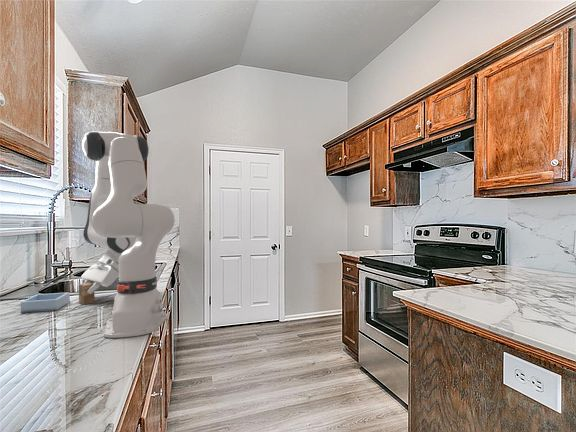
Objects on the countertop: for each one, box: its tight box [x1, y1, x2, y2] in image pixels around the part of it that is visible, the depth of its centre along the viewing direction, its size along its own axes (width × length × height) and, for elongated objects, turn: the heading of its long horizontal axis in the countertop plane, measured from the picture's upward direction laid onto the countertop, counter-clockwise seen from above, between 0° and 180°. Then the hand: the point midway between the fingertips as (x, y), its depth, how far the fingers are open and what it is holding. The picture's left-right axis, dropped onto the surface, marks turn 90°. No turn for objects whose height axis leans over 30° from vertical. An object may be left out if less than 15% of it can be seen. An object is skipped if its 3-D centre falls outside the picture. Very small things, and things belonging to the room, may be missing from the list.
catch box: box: [20, 292, 71, 314], centre depth 127 cm, size 12×12×4 cm
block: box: [78, 282, 96, 305], centre depth 133 cm, size 4×4×8 cm
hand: (84, 291), depth 133 cm, fingers closed on block, 4 cm apart
